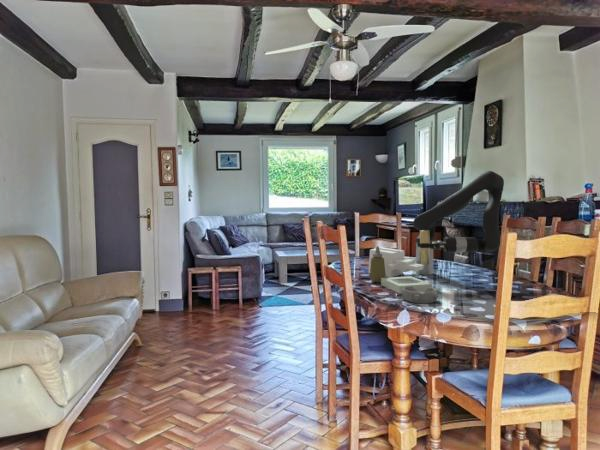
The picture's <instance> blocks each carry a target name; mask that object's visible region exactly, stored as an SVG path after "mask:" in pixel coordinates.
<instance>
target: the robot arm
mask: <svg viewBox="0 0 600 450" xmlns="http://www.w3.org/2000/svg"><path fill="white" fill-rule="evenodd" d="M504 185H505V180H504V178H503V176H501V175H500V174H498V173H497V172H494V171H492V170H487V171H485V172H482V173H480V175H478V176H476V177H475V179H473V180H472V181H471V182H469V183H468V184H467V185H465V186H464V187H462V188H461V189H459V190H457V191H456V192H454V193H453V194H451V195H449V196H448V197H446V198H445V199H443V200H442V201H441V202H439V203H437V204H436V205H434V206H433V207H432V208H430V209H429V210H426V211H424V212H422V213H420V214H418V215H416V216H415V218H414V219H413V222H412V225H413V228H414V229H415V230H417V231H419V232H420V230H430V243H420V233H419V234H418V236H417V237H416V239H415V241H416V242H415V247H416V248H415V263H416V264H420V248H429V249H430V255H429V264H421V265H424V269H423V270H420V271H415V273H416V274H417V275H422V276H423V275H426V276H427V275H433V274H434V250H443V251H444V253H446V254H447V253H448V254H450V253H452V254H454V253H455V254H456V253H473V252H475V253H483V254H486V253H488V254H489V253H492V252H495V251H497V250H498V249H499V248H500V245H501V235H500V231H499V223H500V221H499V219H500V217H499V216H500V208H501V201H502V196H503V191H504ZM485 190H486V191H487V193H488V199H487V200H488V201H487V205H486V207H485V209H484V211H483V215H482V231H483V232H484V234H485V237H484V238H476V237H474V236H469V237H468V236H465V237H463V236H445V237H444V238H443V241H442V240H435V236H436V222H437V221H440V220H443V219H445V218H447V217H450V216H452V215H455V214H457V213H458V212H460V211H462V210H464V209H465V208H467V206H468V205H469V204H470V202H471V200H472V199H473V198H474V197H475V196H476V195H478V194H479V193H481V192H483V191H485Z"/></svg>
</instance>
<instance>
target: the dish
mask: <svg viewBox="0 0 600 450" xmlns="http://www.w3.org/2000/svg"><path fill="white" fill-rule="evenodd" d="M401 295H402V299H404V301H406V302H410V303H415V304H429V303H430V304H431V303H432V304H433V303H435V302H437V301H438V297H439V294H438V289H437V288H436V287H433V286H432V287H428V289H427V290H425V291H423V292H422V291H417V290H416V289H415V288H414V287H413V286H406V287H404V288H403V290H402V294H401Z"/></svg>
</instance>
